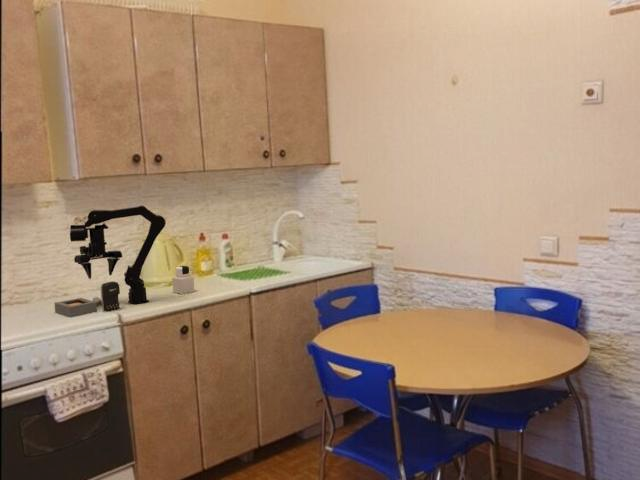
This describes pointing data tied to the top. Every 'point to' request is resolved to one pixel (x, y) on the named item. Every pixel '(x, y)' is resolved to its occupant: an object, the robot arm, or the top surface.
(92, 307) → the grey open box
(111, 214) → the robot arm
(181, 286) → the grey stepped upright block
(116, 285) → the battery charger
